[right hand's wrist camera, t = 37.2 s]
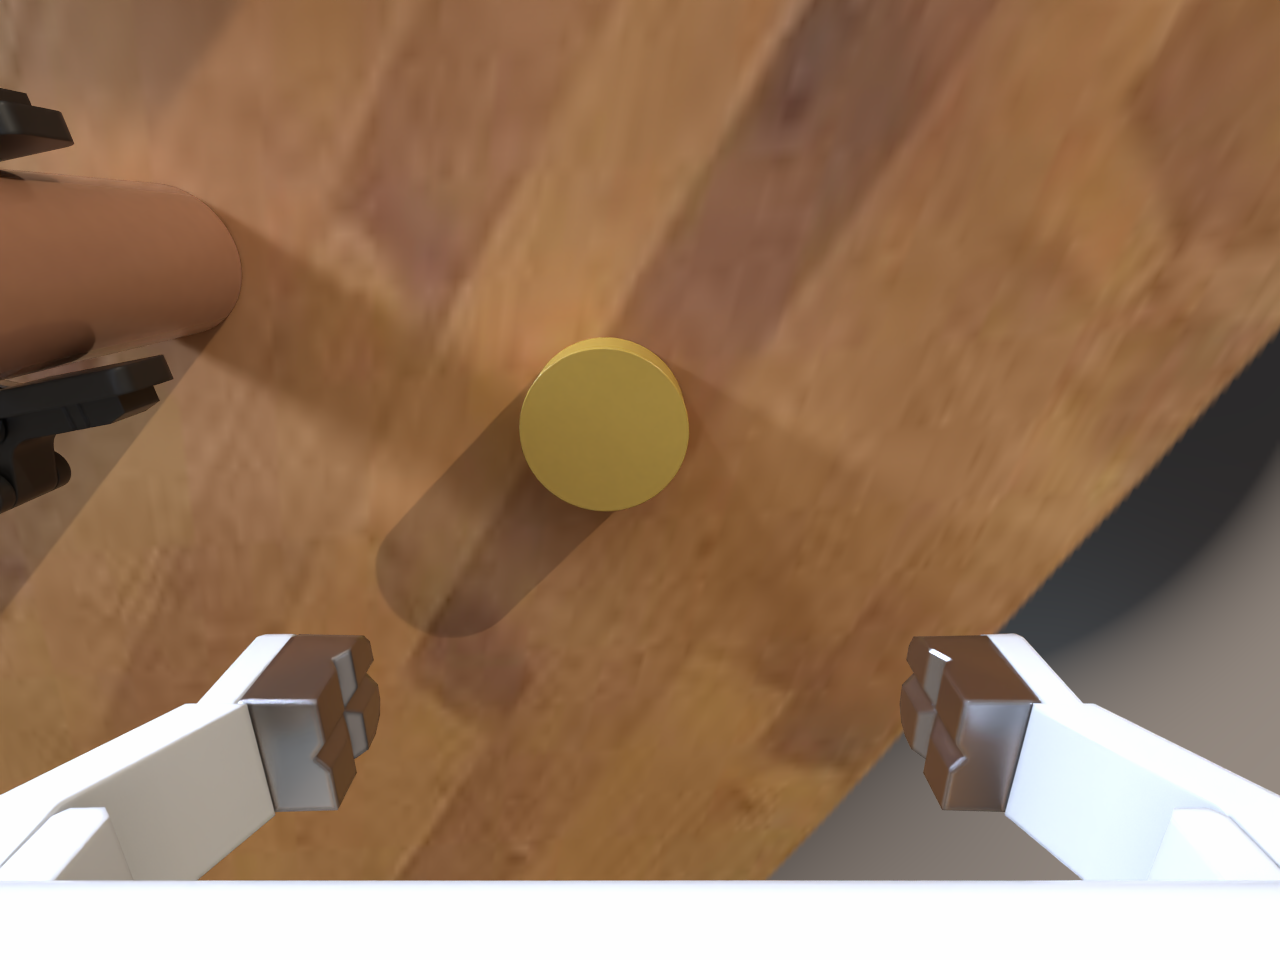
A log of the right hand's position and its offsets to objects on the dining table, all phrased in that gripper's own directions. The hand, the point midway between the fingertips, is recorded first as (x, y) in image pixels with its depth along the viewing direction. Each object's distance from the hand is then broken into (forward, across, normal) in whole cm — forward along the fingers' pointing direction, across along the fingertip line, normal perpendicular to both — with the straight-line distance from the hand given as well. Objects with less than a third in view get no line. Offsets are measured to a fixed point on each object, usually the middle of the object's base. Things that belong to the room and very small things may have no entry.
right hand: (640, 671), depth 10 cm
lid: (+14, +1, +1) cm, 14 cm away
